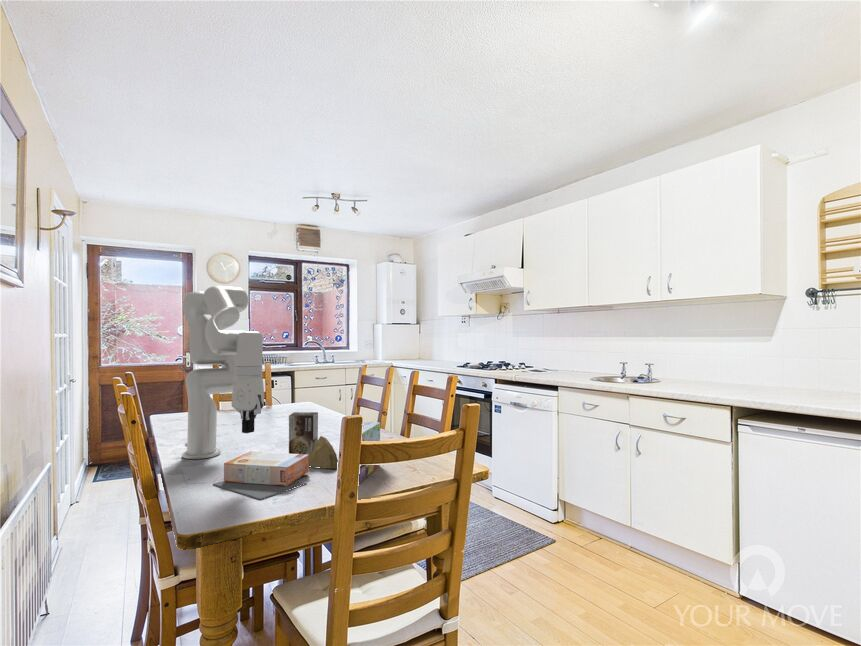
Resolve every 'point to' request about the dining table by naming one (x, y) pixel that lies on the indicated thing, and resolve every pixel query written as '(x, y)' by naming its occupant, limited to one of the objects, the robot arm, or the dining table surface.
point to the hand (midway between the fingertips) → (248, 432)
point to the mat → (257, 488)
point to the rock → (323, 455)
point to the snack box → (369, 434)
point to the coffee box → (303, 432)
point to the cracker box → (266, 468)
